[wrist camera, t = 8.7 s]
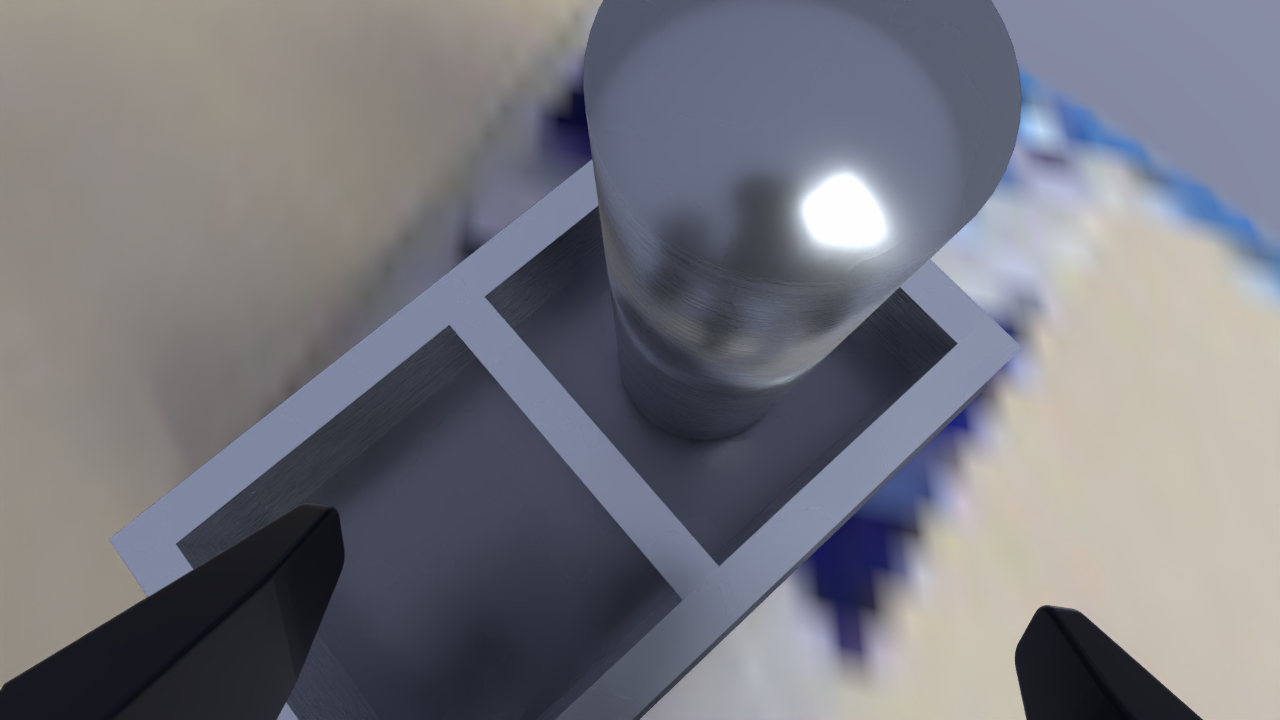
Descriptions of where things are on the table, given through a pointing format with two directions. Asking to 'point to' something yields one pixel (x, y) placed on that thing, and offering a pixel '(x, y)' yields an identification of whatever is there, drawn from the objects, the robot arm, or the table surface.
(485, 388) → the gray divided tray
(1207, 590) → the table surface
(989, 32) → the shiny gray cylinder
